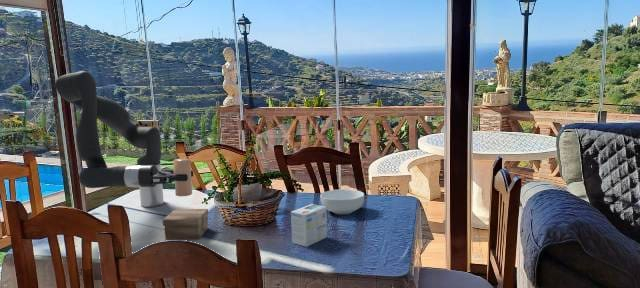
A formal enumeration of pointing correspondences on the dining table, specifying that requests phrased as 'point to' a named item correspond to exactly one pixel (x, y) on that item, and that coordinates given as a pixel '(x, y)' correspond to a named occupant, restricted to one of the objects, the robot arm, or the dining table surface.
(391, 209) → the dining table surface
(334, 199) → the cereal bowl
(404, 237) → the dining table surface
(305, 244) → the light bulb box
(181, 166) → the tan cylinder
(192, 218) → the tan square block
